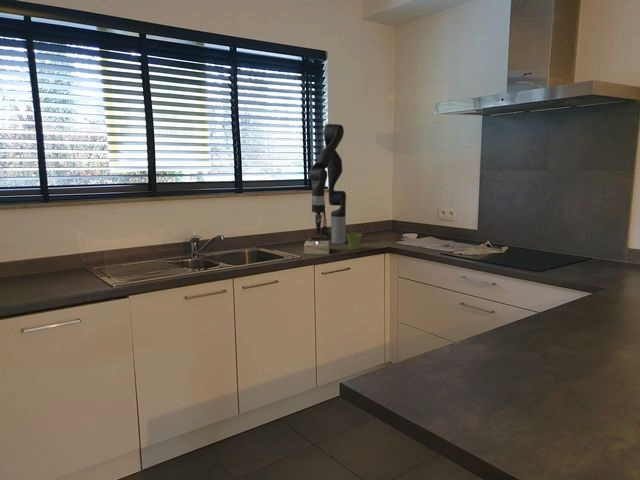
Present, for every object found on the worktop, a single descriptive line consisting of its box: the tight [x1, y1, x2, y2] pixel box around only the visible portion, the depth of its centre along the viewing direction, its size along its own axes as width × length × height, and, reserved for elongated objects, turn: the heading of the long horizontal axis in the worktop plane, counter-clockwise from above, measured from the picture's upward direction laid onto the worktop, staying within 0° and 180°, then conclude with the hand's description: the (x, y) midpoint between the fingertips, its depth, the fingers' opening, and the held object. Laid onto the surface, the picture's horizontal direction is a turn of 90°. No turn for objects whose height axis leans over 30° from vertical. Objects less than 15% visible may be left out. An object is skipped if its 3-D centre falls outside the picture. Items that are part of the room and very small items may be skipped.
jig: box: [303, 237, 330, 255], centre depth 271 cm, size 16×14×7 cm
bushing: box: [314, 240, 323, 244], centre depth 271 cm, size 4×4×6 cm
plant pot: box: [346, 233, 363, 250], centre depth 278 cm, size 9×9×9 cm
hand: (318, 233), depth 270 cm, fingers closed
